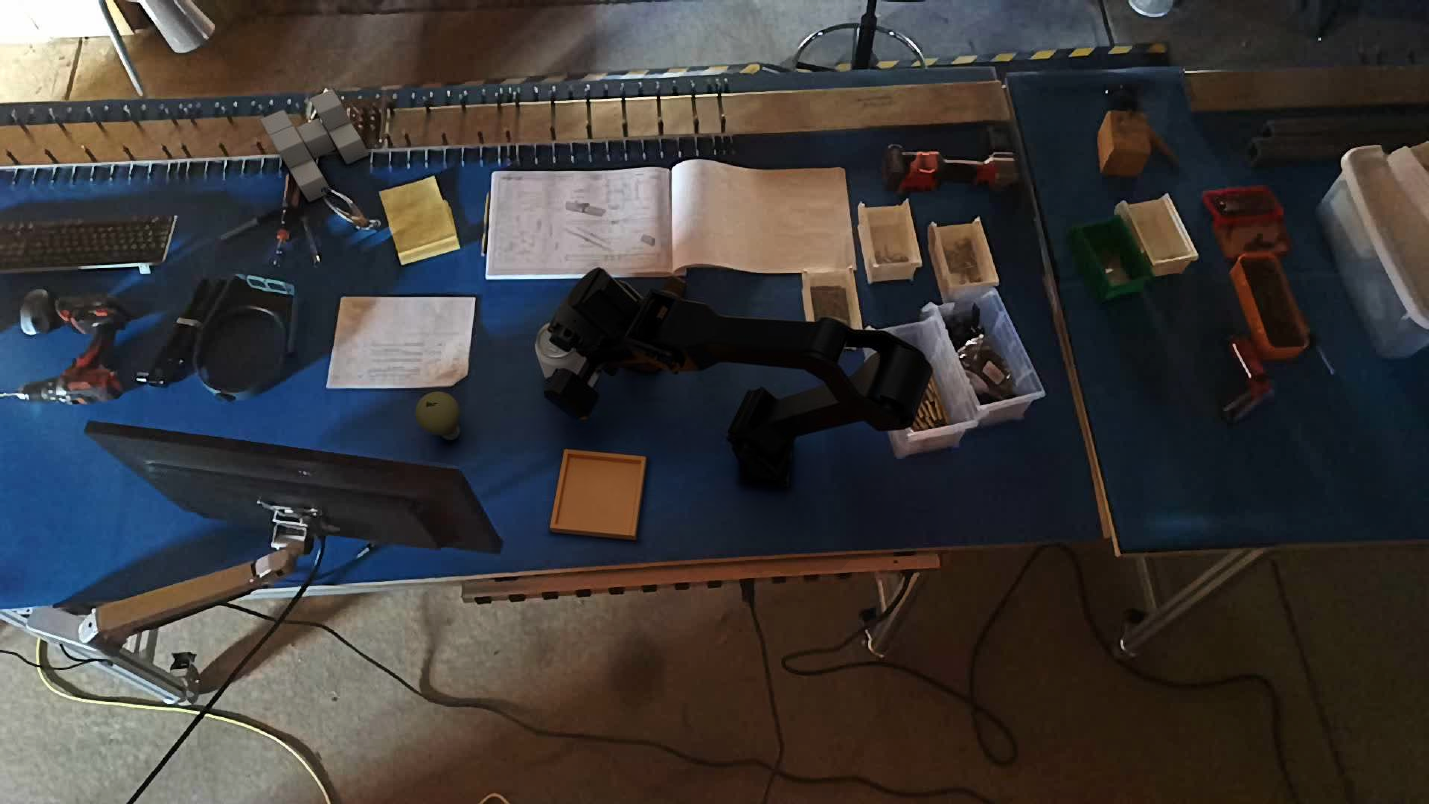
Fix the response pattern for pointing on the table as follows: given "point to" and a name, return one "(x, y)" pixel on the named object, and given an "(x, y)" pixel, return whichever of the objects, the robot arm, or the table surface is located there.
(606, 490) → the tray
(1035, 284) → the table surface
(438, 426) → the light bulb
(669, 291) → the bolt
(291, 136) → the gray h shaped block
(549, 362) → the can
